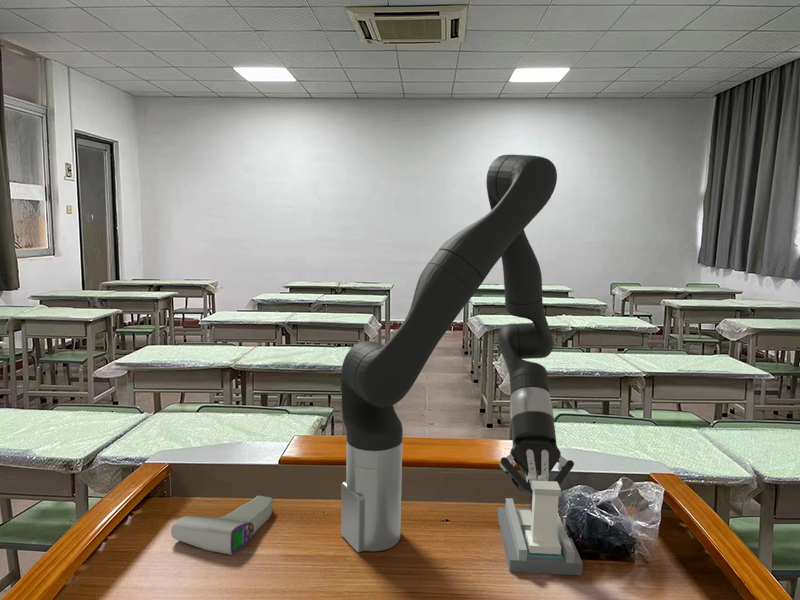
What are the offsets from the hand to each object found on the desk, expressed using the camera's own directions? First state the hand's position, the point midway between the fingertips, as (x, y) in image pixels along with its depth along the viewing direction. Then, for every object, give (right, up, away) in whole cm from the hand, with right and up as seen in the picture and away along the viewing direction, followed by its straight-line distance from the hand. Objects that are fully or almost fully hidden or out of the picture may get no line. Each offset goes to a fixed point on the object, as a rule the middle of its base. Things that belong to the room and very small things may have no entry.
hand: (540, 517), depth 94 cm
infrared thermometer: (-53, -5, +6) cm, 53 cm away
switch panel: (0, -6, +3) cm, 6 cm away
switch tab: (0, -4, -2) cm, 4 cm away
